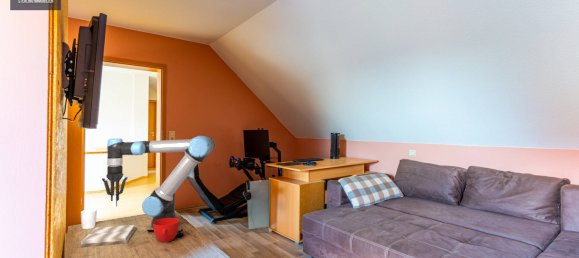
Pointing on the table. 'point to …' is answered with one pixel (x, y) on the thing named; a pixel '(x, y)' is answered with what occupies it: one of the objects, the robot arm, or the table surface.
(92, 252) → the table surface
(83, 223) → the white cup
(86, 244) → the base board
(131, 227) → the raised plank
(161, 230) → the ceramic cup
